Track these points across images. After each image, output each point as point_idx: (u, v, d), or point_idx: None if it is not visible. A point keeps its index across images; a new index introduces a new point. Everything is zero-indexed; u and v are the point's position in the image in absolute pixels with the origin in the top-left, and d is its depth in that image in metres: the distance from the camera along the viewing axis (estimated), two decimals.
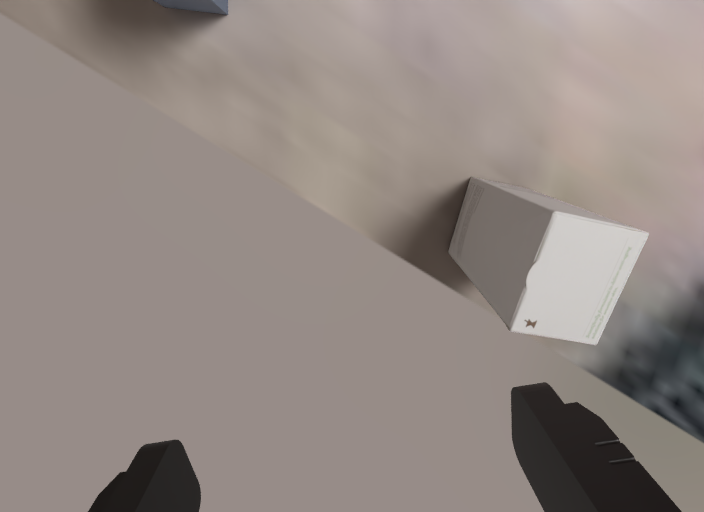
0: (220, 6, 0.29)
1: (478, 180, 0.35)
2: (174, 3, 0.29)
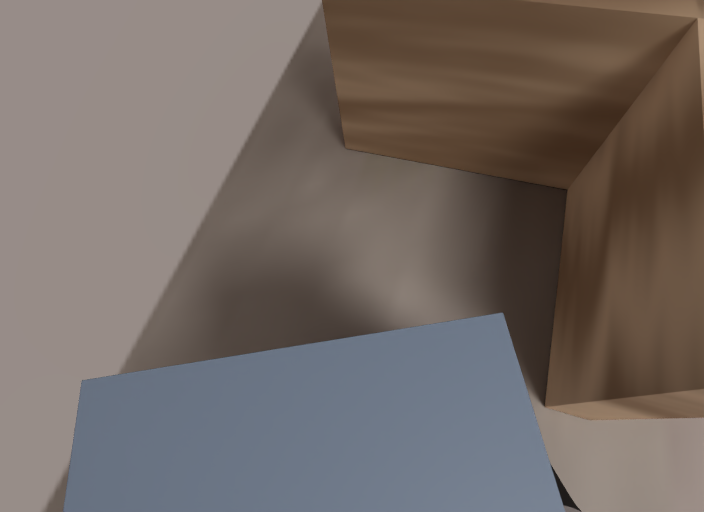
0: None
1: None
2: None
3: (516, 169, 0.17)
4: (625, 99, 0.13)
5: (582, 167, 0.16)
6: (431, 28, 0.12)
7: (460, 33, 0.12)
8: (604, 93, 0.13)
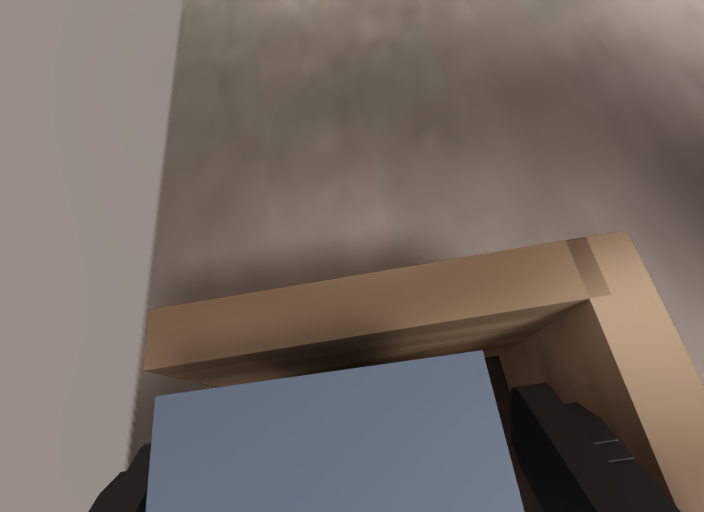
0: None
1: None
2: None
3: None
4: (534, 328, 0.11)
5: (508, 348, 0.15)
6: (305, 354, 0.10)
7: (340, 348, 0.10)
8: (513, 331, 0.11)
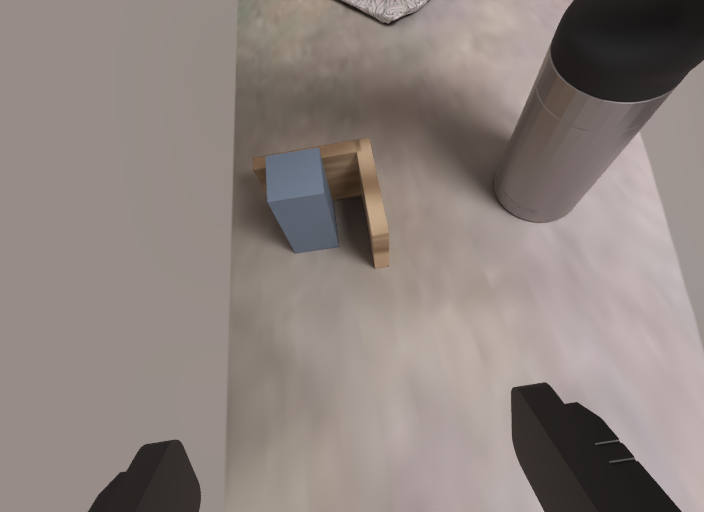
0: (292, 245, 0.41)
1: None
2: None
3: (341, 195, 0.45)
4: (356, 169, 0.41)
5: (360, 187, 0.44)
6: None
7: None
8: (349, 169, 0.41)
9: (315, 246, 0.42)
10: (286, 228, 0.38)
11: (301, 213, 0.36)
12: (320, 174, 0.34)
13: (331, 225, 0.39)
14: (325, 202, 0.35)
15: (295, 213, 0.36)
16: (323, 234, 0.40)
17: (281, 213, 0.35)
